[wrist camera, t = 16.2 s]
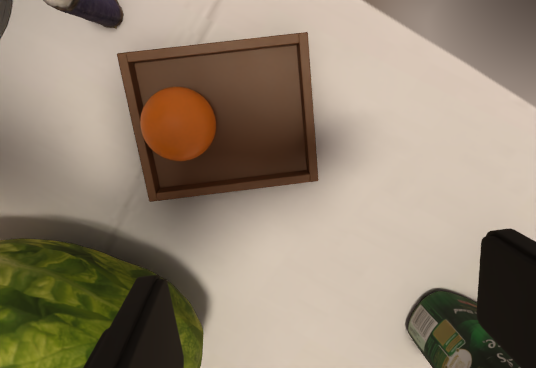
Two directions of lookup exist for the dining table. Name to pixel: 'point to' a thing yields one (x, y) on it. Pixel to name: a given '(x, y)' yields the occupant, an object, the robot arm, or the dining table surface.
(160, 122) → the mandarin
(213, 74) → the tray
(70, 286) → the lettuce
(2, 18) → the bowl
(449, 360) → the coffee jar
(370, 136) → the dining table surface
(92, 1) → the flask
